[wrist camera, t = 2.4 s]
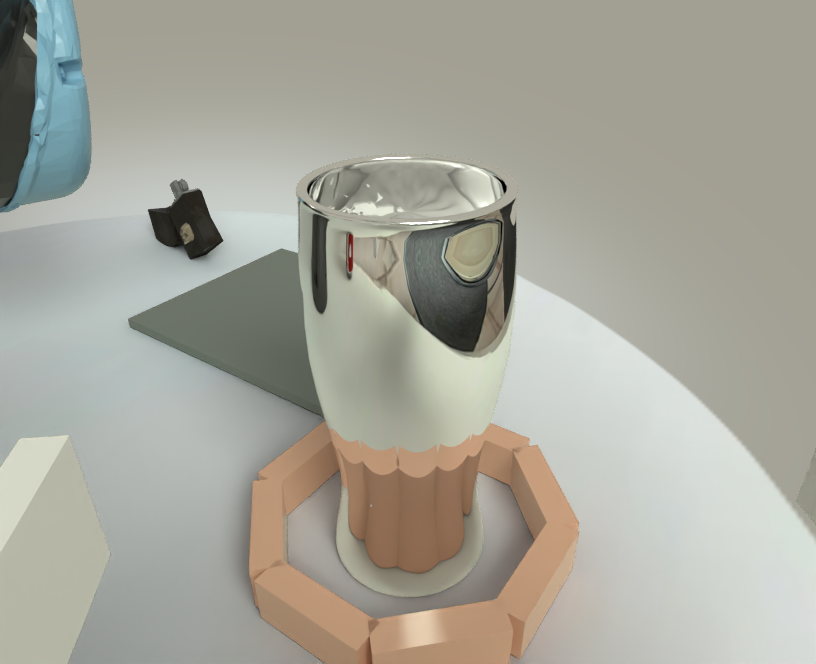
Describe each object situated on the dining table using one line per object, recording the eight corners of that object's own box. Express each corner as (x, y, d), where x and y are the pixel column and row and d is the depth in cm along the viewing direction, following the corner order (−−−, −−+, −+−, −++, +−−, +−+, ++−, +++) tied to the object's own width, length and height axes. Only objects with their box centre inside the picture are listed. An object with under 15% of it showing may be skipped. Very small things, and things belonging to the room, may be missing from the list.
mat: (130, 327, 42) (128, 319, 42) (282, 255, 52) (281, 248, 51) (342, 425, 33) (341, 416, 33) (476, 316, 43) (477, 308, 42)
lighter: (164, 276, 55) (136, 214, 54) (188, 268, 56) (161, 207, 55) (198, 248, 48) (165, 177, 47) (224, 240, 49) (193, 170, 48)
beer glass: (371, 461, 31) (357, 143, 23) (513, 504, 28) (550, 164, 21) (292, 572, 25) (238, 203, 17) (460, 637, 23) (482, 240, 15)
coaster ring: (191, 567, 25) (181, 531, 24) (380, 409, 34) (379, 378, 33) (461, 761, 19) (464, 724, 18) (607, 507, 28) (614, 472, 27)
